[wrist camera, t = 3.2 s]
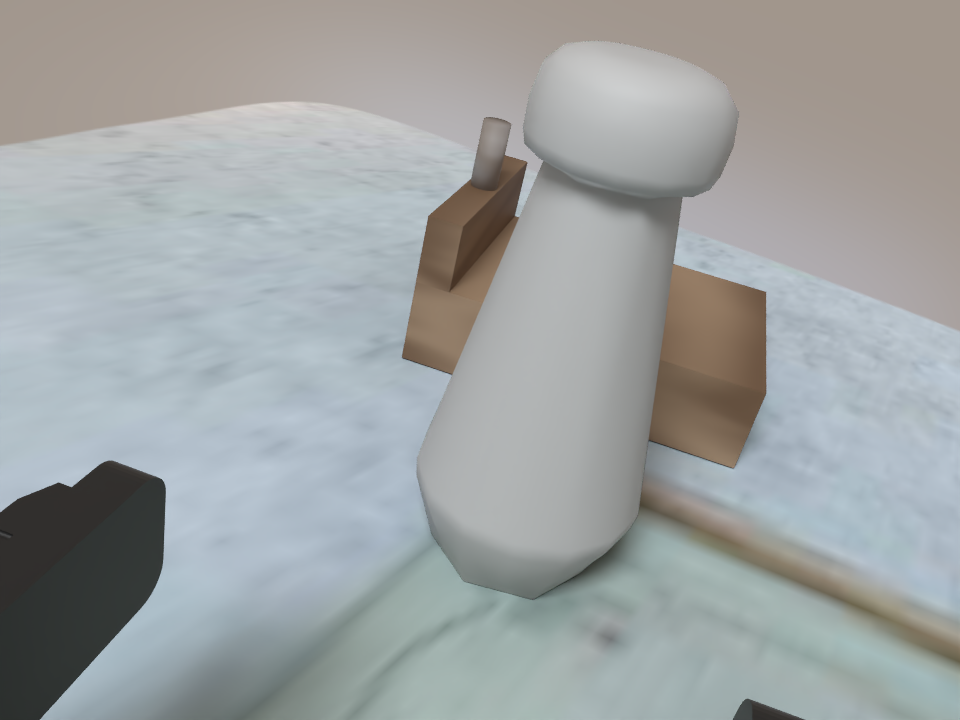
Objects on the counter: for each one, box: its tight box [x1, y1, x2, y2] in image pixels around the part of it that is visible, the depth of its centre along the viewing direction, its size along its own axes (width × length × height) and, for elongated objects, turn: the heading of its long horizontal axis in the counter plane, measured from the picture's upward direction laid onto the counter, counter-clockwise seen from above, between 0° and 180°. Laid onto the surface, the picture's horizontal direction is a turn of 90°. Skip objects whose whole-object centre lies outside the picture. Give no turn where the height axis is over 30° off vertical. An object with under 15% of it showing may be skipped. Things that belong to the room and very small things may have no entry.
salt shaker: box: [417, 41, 739, 600], centre depth 21 cm, size 6×6×13 cm
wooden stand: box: [402, 117, 766, 468], centre depth 32 cm, size 12×9×8 cm
